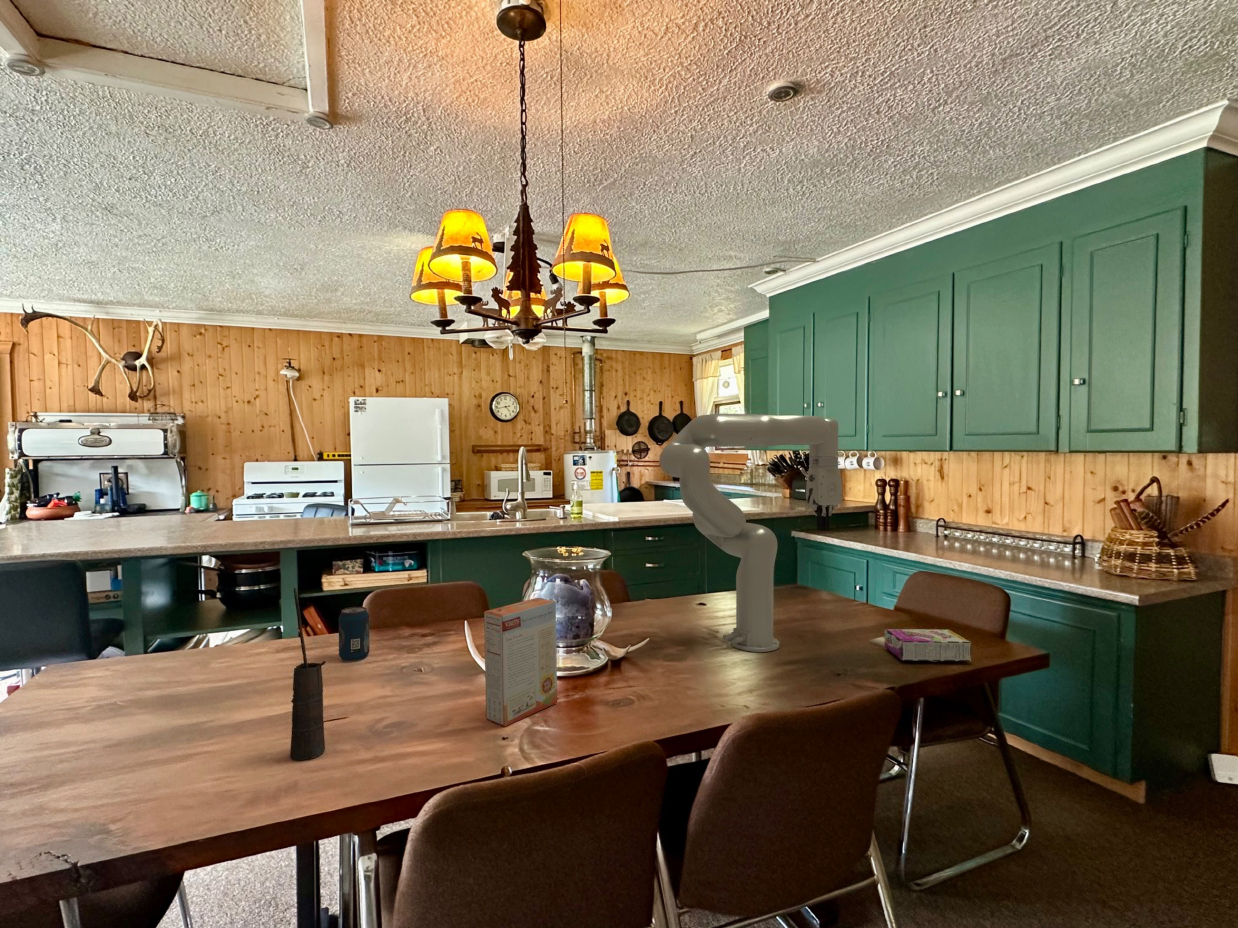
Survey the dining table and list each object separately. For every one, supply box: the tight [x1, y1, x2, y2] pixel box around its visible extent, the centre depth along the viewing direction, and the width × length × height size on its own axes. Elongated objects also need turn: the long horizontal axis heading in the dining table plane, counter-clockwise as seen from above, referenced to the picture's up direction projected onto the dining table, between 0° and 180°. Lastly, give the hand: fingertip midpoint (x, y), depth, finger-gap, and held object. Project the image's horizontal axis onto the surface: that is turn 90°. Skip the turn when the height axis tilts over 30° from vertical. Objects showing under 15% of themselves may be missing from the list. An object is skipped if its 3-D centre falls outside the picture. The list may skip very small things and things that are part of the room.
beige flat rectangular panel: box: [868, 635, 938, 663], centre depth 159 cm, size 13×18×1 cm
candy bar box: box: [884, 628, 972, 662], centre depth 152 cm, size 11×5×16 cm
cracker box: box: [483, 597, 558, 727], centre depth 120 cm, size 14×6×21 cm, turn 141°
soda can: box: [338, 606, 371, 663], centre depth 151 cm, size 7×7×12 cm
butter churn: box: [289, 587, 327, 761], centre depth 103 cm, size 9×10×28 cm
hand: (823, 530), depth 169 cm, fingers closed
